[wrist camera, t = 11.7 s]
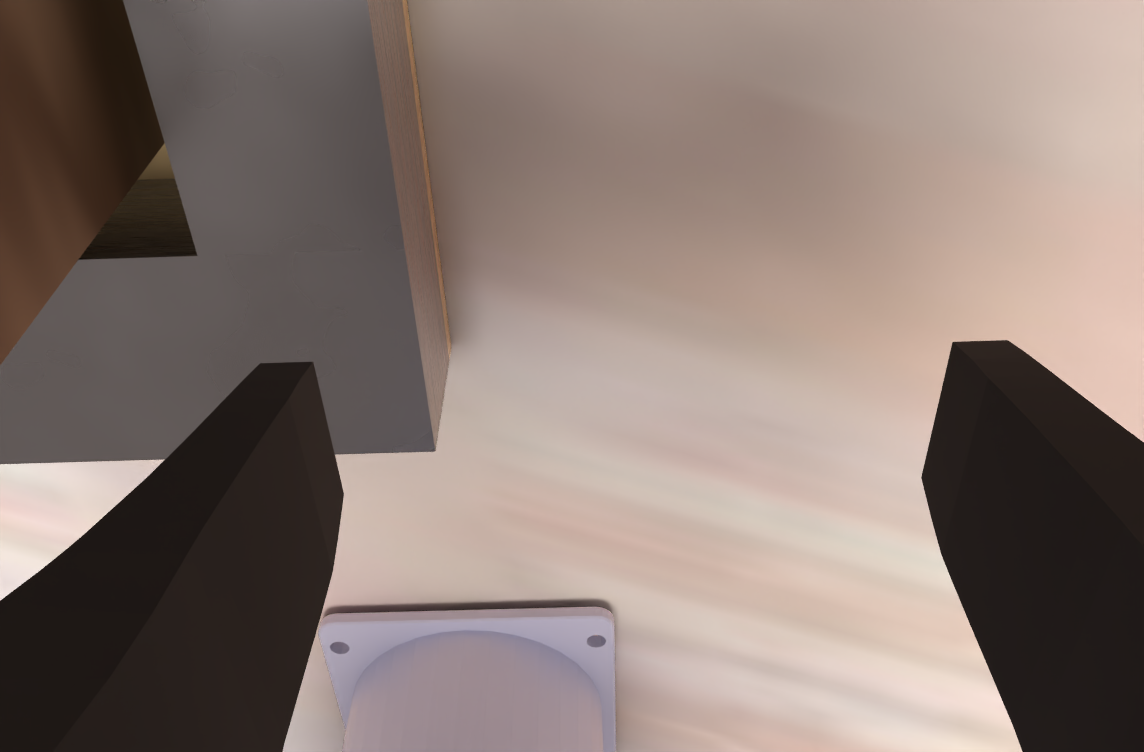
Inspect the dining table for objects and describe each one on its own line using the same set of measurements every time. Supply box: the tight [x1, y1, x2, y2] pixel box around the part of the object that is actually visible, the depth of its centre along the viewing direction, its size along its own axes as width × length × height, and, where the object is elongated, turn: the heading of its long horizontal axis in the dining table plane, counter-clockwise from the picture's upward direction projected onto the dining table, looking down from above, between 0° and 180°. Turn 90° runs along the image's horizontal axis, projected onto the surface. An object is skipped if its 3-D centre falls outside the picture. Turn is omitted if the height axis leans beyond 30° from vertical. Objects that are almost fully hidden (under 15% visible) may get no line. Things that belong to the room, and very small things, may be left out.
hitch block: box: [0, 0, 451, 464], centre depth 17 cm, size 15×13×4 cm
